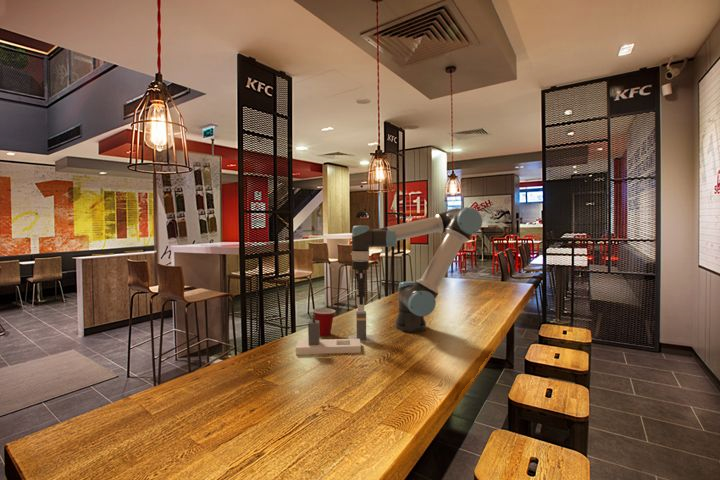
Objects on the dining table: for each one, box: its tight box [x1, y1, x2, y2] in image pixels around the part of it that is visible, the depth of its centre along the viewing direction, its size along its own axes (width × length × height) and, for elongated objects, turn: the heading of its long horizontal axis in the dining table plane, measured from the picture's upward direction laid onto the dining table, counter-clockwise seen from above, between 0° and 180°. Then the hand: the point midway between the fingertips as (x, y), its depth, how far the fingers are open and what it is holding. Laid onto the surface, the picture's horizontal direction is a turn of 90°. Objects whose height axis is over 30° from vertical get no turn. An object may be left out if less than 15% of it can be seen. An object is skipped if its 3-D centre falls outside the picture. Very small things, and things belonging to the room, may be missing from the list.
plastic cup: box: [312, 307, 336, 337], centre depth 170 cm, size 11×11×12 cm
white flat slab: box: [347, 334, 376, 344], centre depth 163 cm, size 12×10×1 cm
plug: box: [355, 310, 367, 340], centre depth 163 cm, size 4×4×12 cm
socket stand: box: [295, 313, 362, 356], centre depth 150 cm, size 26×9×15 cm, turn 92°
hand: (360, 307), depth 162 cm, fingers open, 13 cm apart
